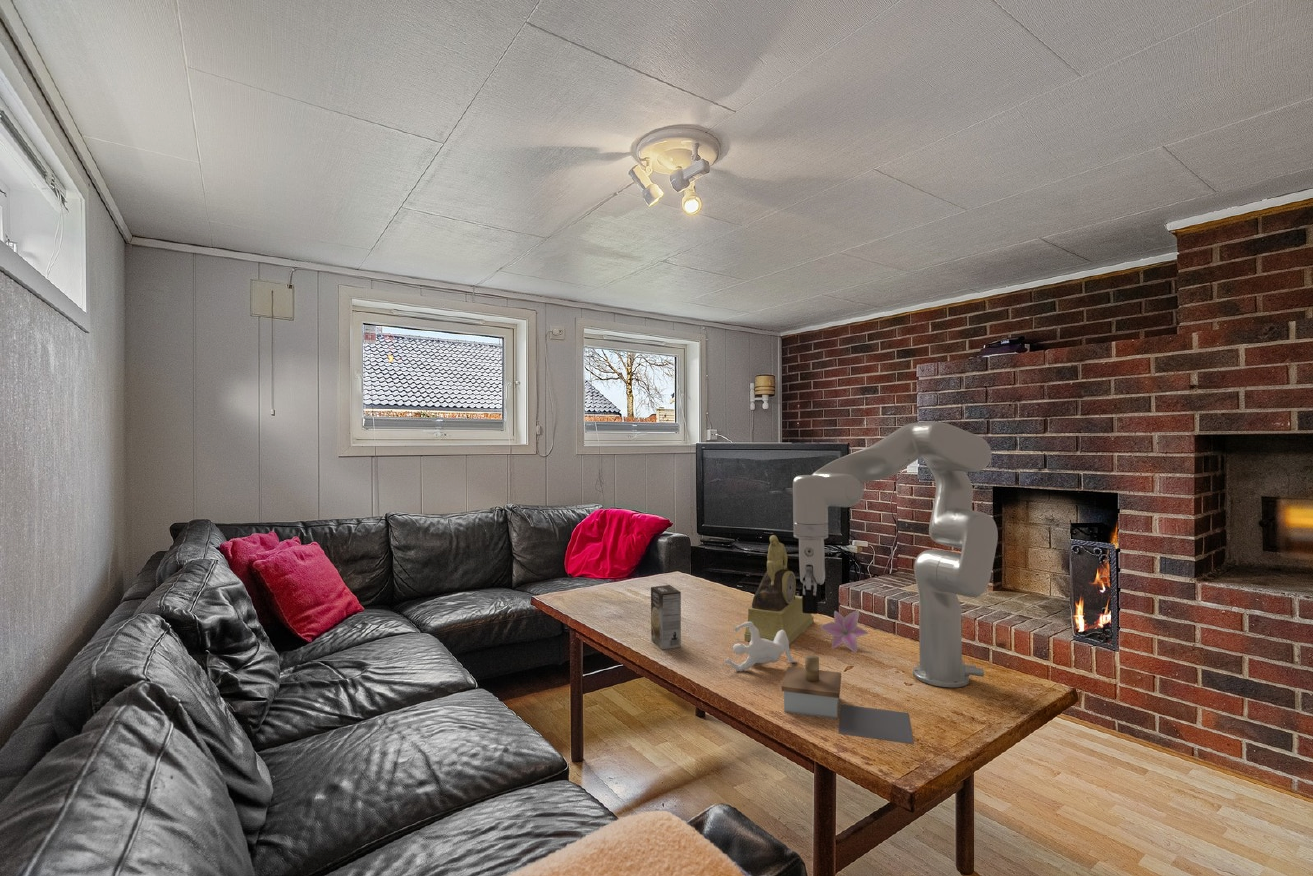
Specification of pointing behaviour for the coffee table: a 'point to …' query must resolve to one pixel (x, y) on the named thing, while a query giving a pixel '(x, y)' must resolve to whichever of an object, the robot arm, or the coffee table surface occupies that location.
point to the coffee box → (666, 616)
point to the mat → (875, 724)
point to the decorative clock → (777, 600)
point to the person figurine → (761, 648)
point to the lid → (812, 679)
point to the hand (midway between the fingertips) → (811, 607)
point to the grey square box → (811, 704)
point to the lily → (844, 630)
